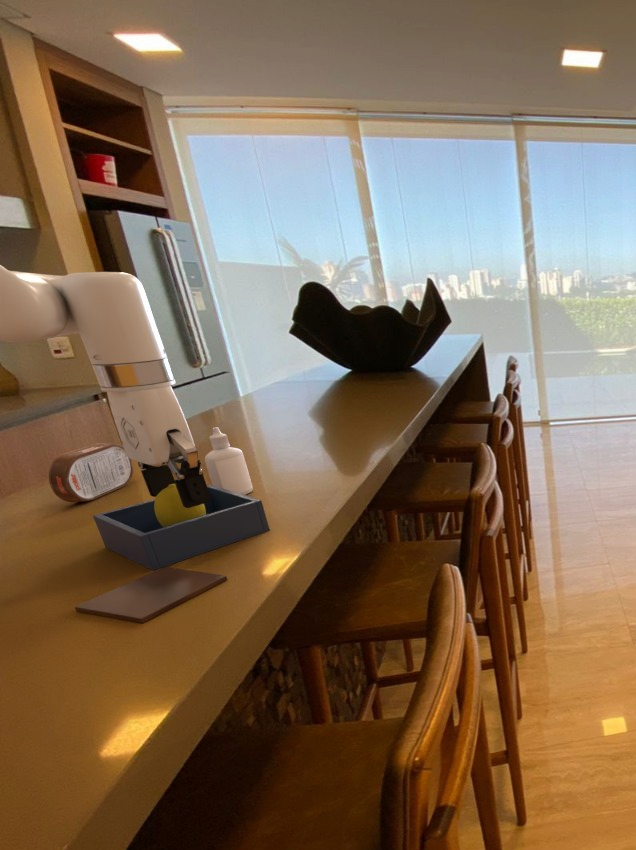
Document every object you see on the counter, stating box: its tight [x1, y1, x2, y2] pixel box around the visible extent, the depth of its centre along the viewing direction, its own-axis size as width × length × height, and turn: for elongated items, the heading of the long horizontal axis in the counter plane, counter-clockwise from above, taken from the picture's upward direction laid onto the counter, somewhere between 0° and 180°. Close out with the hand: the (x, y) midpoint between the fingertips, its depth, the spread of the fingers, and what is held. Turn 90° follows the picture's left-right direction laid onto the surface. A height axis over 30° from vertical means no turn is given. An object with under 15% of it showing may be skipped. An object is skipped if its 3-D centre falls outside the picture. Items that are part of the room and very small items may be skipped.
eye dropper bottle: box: [204, 426, 254, 496], centre depth 96 cm, size 4×6×12 cm
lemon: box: [154, 484, 206, 528], centre depth 80 cm, size 6×6×8 cm
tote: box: [92, 484, 271, 571], centre depth 80 cm, size 15×15×5 cm
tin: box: [48, 442, 134, 503], centre depth 98 cm, size 15×3×8 cm, turn 6°
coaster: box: [74, 566, 228, 624], centre depth 66 cm, size 10×10×1 cm
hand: (181, 499), depth 79 cm, fingers open, 9 cm apart
